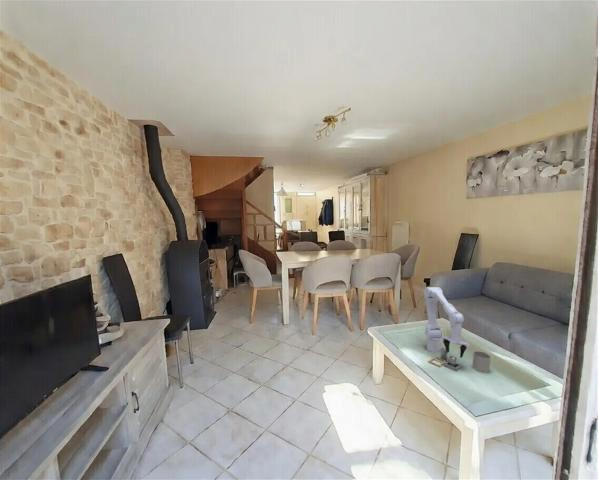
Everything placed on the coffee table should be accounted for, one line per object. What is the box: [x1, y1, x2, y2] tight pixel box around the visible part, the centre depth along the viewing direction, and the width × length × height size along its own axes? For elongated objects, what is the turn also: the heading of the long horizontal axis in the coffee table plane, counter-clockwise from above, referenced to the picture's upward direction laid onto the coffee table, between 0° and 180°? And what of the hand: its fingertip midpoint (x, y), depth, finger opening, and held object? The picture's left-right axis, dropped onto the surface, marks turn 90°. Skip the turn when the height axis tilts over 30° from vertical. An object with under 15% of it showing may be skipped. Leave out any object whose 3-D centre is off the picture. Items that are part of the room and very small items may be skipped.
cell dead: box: [440, 347, 448, 361], centre depth 169 cm, size 3×3×6 cm
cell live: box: [449, 355, 457, 368], centre depth 158 cm, size 3×3×6 cm
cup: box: [472, 350, 491, 374], centre depth 157 cm, size 8×8×10 cm
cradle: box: [443, 360, 464, 372], centre depth 159 cm, size 10×7×3 cm
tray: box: [427, 356, 448, 368], centre depth 163 cm, size 10×7×2 cm
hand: (454, 354), depth 160 cm, fingers open, 7 cm apart
